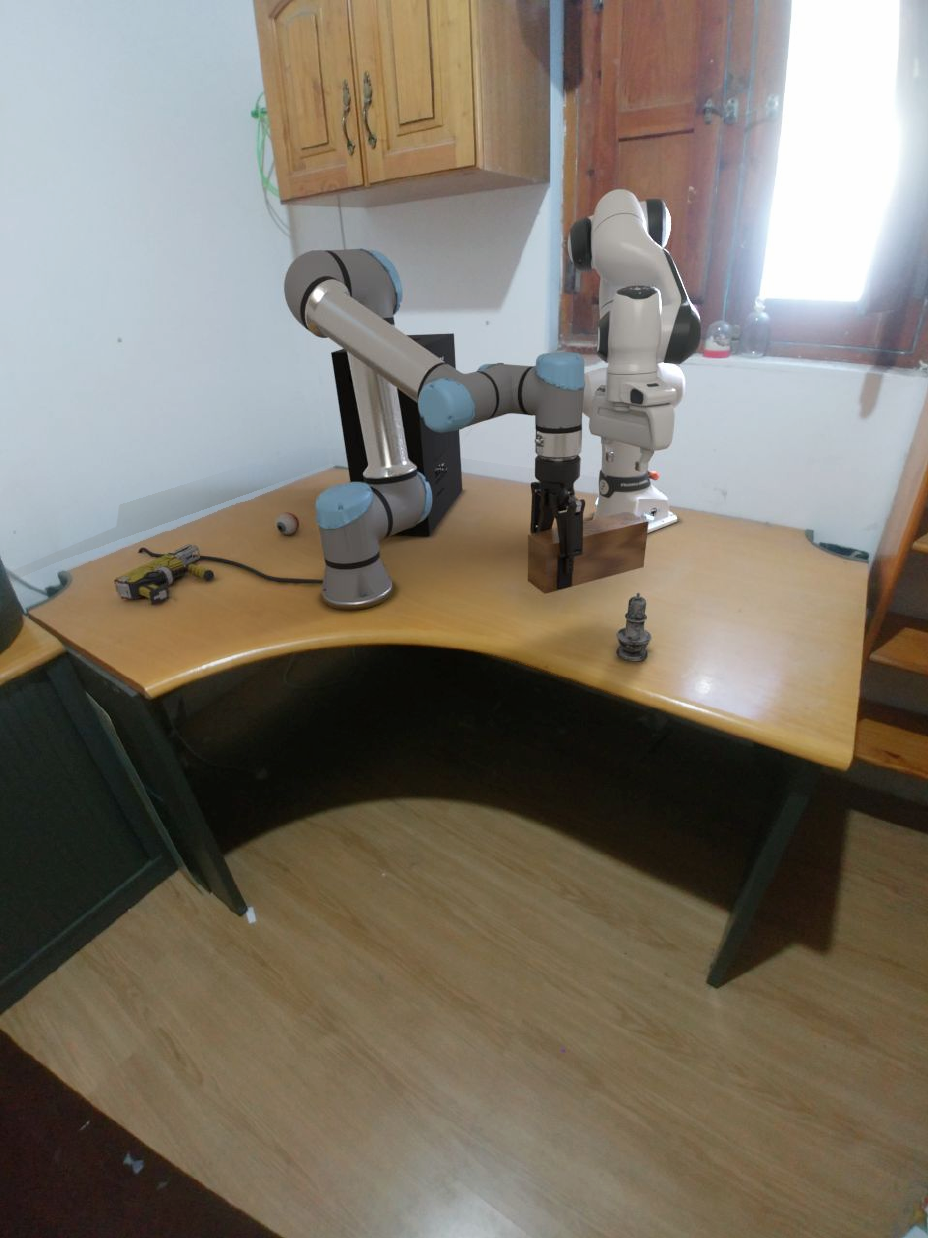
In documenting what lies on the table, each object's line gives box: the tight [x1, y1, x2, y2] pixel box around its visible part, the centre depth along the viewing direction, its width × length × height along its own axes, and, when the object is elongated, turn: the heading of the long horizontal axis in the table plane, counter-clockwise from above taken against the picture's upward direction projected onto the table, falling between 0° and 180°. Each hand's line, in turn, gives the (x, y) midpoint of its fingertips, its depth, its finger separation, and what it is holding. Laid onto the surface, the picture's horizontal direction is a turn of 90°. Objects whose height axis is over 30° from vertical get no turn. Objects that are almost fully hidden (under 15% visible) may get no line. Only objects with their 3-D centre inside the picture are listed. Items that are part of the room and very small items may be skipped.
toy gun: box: [113, 543, 215, 606], centre depth 141 cm, size 5×24×15 cm
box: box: [527, 512, 649, 595], centre depth 111 cm, size 22×6×9 cm, turn 115°
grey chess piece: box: [616, 592, 652, 662], centre depth 103 cm, size 6×6×12 cm
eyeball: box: [275, 511, 300, 536], centre depth 163 cm, size 6×6×6 cm
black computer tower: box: [330, 332, 463, 537], centre depth 165 cm, size 38×20×45 cm, turn 167°
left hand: (554, 580), depth 111 cm, fingers closed on box, 6 cm apart
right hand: (625, 465), depth 115 cm, fingers open, 8 cm apart
